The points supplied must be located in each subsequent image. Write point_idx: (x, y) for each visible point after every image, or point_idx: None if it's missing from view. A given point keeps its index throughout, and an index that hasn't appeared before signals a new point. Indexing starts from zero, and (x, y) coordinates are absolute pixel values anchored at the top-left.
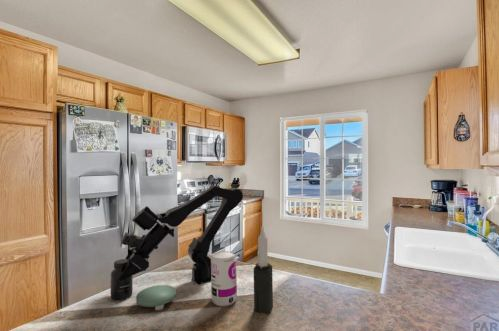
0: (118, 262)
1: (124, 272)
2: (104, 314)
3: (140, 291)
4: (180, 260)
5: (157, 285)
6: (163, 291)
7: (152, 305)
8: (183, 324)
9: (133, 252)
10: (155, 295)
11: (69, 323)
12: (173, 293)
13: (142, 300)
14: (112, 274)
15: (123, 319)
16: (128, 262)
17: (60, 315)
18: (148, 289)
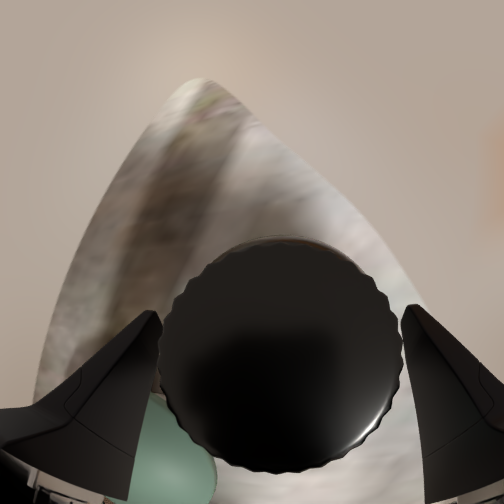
0: (231, 318)
1: (93, 362)
2: (138, 252)
3: (170, 418)
4: None
5: (211, 493)
6: (135, 486)
7: None
8: None
9: (493, 483)
10: None
11: (145, 148)
12: (109, 497)
13: None
14: (224, 253)
15: (80, 318)
16: (226, 453)
17: (220, 106)
18: (179, 453)
